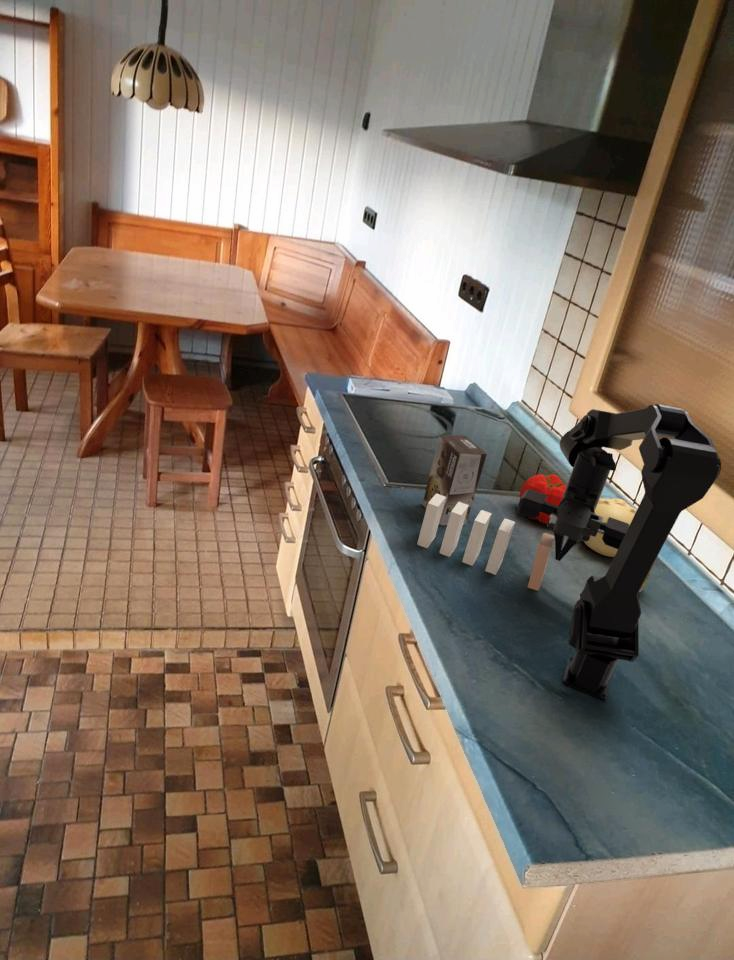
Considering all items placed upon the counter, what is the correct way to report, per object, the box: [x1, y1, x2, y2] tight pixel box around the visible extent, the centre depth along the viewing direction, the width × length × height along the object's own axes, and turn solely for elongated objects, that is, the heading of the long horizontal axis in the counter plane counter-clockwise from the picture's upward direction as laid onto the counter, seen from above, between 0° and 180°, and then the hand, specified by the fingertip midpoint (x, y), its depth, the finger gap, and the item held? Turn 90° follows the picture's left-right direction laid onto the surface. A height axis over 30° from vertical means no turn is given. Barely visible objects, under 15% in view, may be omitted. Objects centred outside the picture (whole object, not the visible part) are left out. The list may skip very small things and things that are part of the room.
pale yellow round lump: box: [583, 497, 637, 558], centre depth 143 cm, size 12×12×11 cm
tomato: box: [519, 473, 567, 525], centre depth 150 cm, size 11×12×9 cm
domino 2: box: [439, 502, 469, 558], centre depth 130 cm, size 5×2×9 cm, turn 157°
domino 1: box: [416, 493, 446, 549], centre depth 131 cm, size 5×2×9 cm, turn 157°
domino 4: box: [485, 518, 516, 576], centre depth 128 cm, size 5×2×9 cm, turn 157°
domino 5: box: [527, 532, 555, 591], centre depth 125 cm, size 5×2×9 cm, turn 157°
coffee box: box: [422, 434, 488, 526], centre depth 141 cm, size 9×6×16 cm
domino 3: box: [461, 509, 492, 567], centre depth 129 cm, size 5×2×9 cm, turn 157°
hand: (557, 559), depth 124 cm, fingers closed
